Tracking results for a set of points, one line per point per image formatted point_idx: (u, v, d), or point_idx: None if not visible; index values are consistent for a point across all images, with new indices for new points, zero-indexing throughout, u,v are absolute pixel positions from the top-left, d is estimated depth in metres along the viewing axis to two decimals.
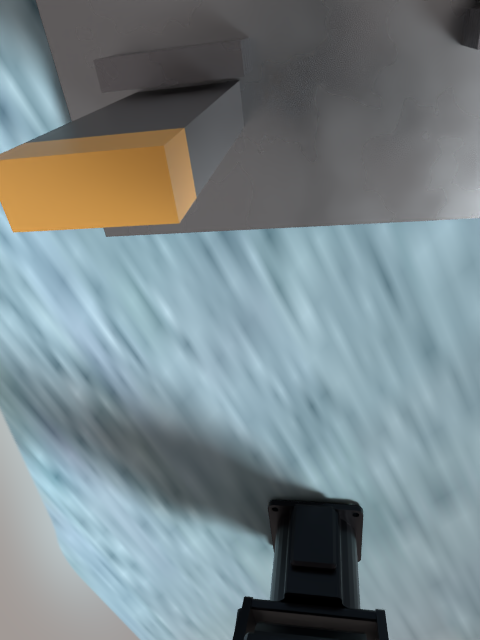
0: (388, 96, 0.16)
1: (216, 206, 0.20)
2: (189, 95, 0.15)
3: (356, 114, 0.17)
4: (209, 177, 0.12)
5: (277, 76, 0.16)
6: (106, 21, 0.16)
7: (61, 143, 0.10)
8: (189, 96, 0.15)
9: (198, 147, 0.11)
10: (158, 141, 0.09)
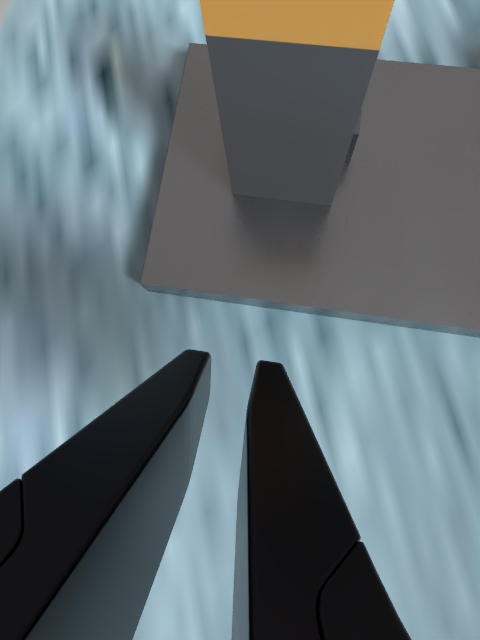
0: (469, 208, 0.18)
1: (281, 274, 0.18)
2: None
3: (439, 216, 0.18)
4: (364, 95, 0.12)
5: (371, 173, 0.18)
6: None
7: None
8: None
9: None
10: None
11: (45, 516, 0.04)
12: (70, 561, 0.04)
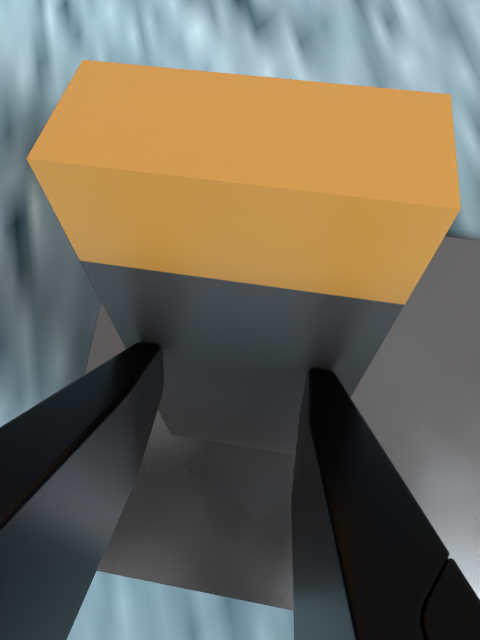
0: None
1: (242, 553, 0.12)
2: None
3: (467, 471, 0.12)
4: (372, 358, 0.07)
5: (370, 398, 0.13)
6: None
7: None
8: None
9: None
10: None
11: None
12: None
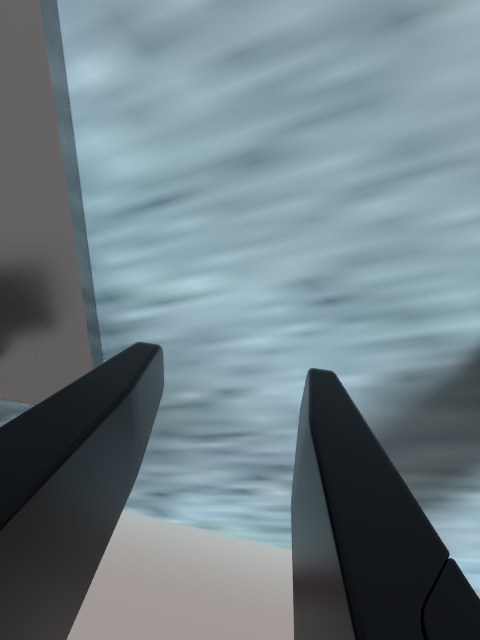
0: None
1: (68, 338, 0.24)
2: None
3: None
4: None
5: None
6: None
7: None
8: None
9: None
10: None
11: None
12: None
